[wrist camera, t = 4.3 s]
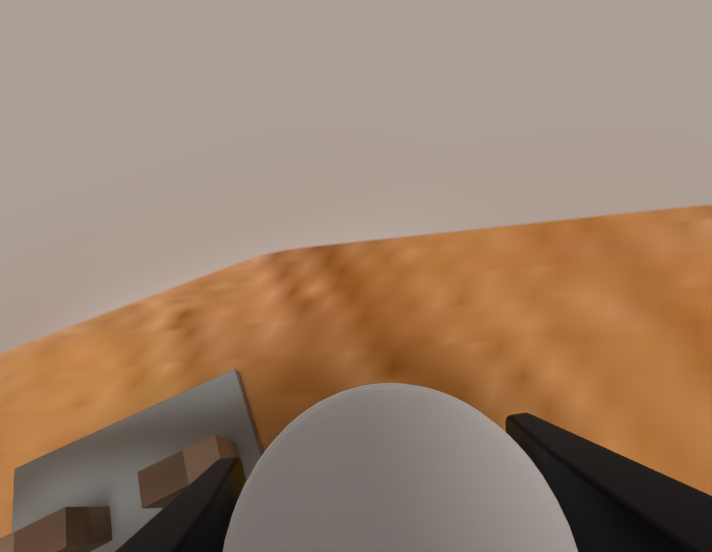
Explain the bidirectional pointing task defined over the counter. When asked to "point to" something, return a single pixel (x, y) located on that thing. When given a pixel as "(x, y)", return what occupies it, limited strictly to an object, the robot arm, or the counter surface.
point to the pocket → (129, 470)
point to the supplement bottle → (396, 481)
